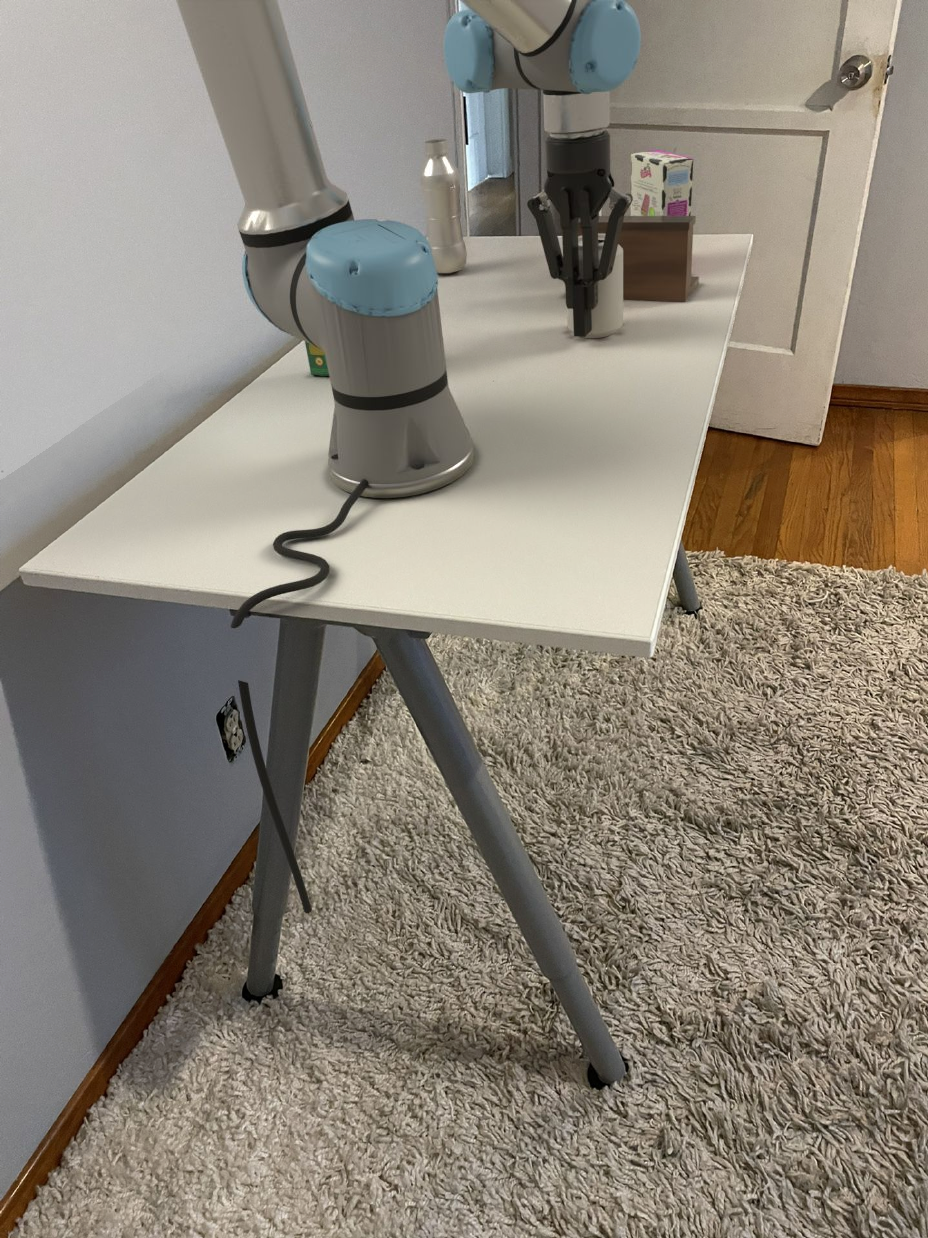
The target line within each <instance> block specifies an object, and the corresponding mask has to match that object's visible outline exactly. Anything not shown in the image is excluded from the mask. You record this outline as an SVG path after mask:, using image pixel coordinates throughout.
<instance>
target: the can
mask: <svg viewBox="0 0 928 1238" xmlns="http://www.w3.org/2000/svg"><path fill="white" fill-rule="evenodd" d="M604 239H605V234H598V256H599V263H600V258H601V253H602V249H603V244H604ZM578 249H579V273H580V276H579V277H578V280H579V279H584V278H583V245H582V236H579V237H578ZM566 319H567V329H569V331H571V332H572V333H573V334H574V326H573V309H568V308H567V307H566ZM591 319H592V330H591V331H590V332H589V333H588V334H587V335H586V336H585V337H582V338H584V339H599V338H600V339H601V338H606V337H609V336H612V335H614V334H616V333H617V331H618V330H619V329H620V328H621V327H622V326H623V324H624V300H623V248H622V247H621V246H620V245H619V244H618V247H617V252H616V256H615V261H614V266H613V270H612V273H611V274H610V275H609V276H608V277H606V278H605V279H604V280H600V281H598V304H597V306H596V307H595V308H594V309H593V310H592V309H591Z"/></svg>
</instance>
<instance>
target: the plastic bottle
mask: <svg viewBox="0 0 928 1238" xmlns="http://www.w3.org/2000/svg"><path fill="white" fill-rule="evenodd" d="M423 148H424V152H423V153H424V156H426V160H425V162H424V164H423V166H422V168H421V171H420V174H419V179H418V181H419V186H420V190H421V194H422V197H423V198H422V199H423V202H424V209H425V214H426V221H427V240H428V242H429V244H430V247H431V250H432V256H433V260H434V264H435V267H436V271H437V274H451V273H455V272H459V271H462V270H463V269H465V267H466V264H467V261H468V252H467V247H466V243H465V240H464V235H463V229H462V223H461V214H460V208H461V207H460V191H461V189H460V188H461V183H460V182H461V174H460V171H459V169H458V168H457V166H456V164H455V163H454V162H453V161H452V160H451V159H450V157H449V155H448V154H449V153H450V149H449V144H448V140H447V138H436V139H429V140H426V141H424V142H423Z"/></svg>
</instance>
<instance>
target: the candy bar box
mask: <svg viewBox="0 0 928 1238" xmlns="http://www.w3.org/2000/svg"><path fill="white" fill-rule="evenodd" d="M693 175H694V158H693V157H688V156H685V155H681V154H677V153H673V152H669V151H665V150H660V149H653V150H645V151H640V152H635V153H631V154H630V194H631V195H632V197H633V201H632V203H631V205H630V207H629V208H630V215H629V216H692V215H691V214H692V200H693V199H692V198H693V197H692V196H693V180H694V179H693V178H694V177H693Z"/></svg>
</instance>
